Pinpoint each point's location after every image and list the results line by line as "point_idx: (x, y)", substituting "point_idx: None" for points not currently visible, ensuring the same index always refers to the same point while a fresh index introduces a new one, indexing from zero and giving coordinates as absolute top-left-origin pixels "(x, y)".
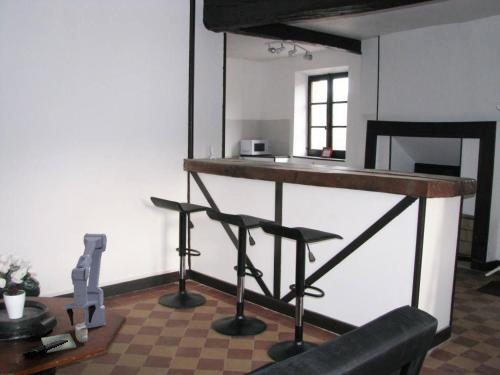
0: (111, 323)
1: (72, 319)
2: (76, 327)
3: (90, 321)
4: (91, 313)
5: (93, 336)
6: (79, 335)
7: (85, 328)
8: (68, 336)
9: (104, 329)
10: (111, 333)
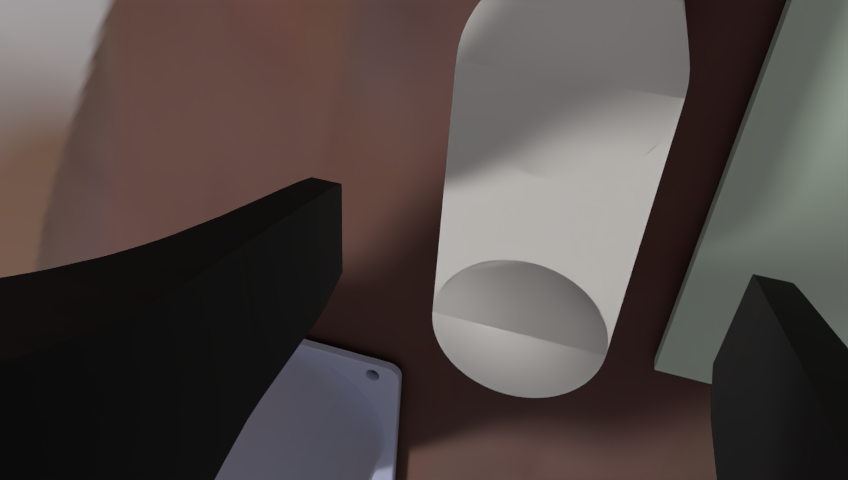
0: None
1: (843, 397)
2: (623, 281)
3: (307, 188)
4: (134, 283)
5: (383, 70)
6: (679, 2)
7: (483, 111)
8: (730, 280)
9: (203, 207)
10: (127, 14)
